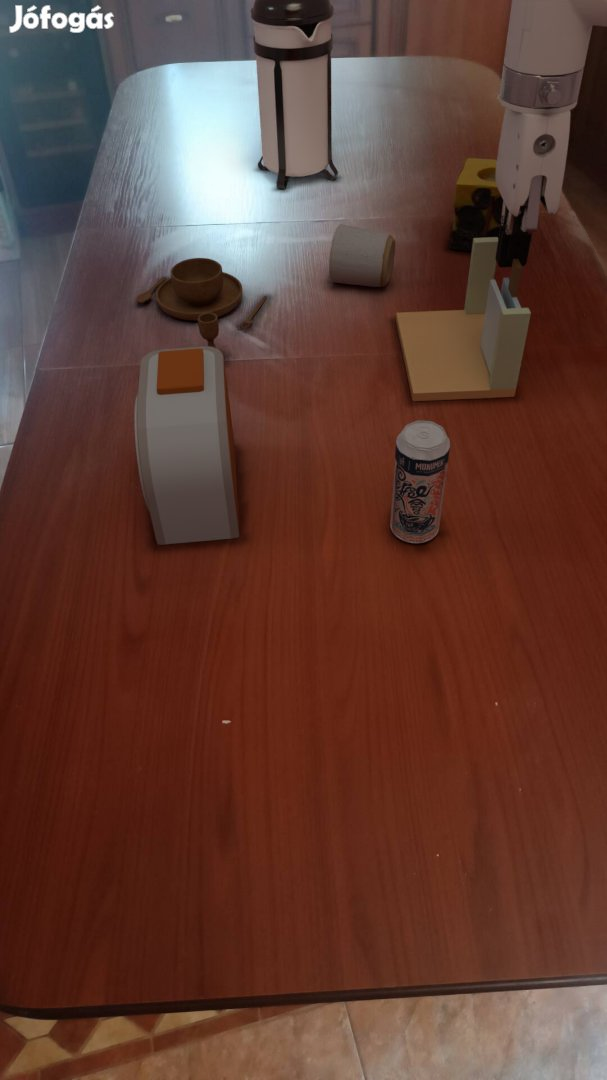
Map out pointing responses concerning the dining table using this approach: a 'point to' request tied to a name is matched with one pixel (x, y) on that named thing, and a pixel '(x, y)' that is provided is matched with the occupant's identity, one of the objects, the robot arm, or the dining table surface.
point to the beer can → (419, 481)
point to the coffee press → (294, 86)
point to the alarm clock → (186, 445)
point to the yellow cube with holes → (476, 204)
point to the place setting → (199, 295)
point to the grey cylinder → (361, 256)
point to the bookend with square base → (466, 340)
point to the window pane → (512, 286)
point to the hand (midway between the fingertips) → (510, 263)
